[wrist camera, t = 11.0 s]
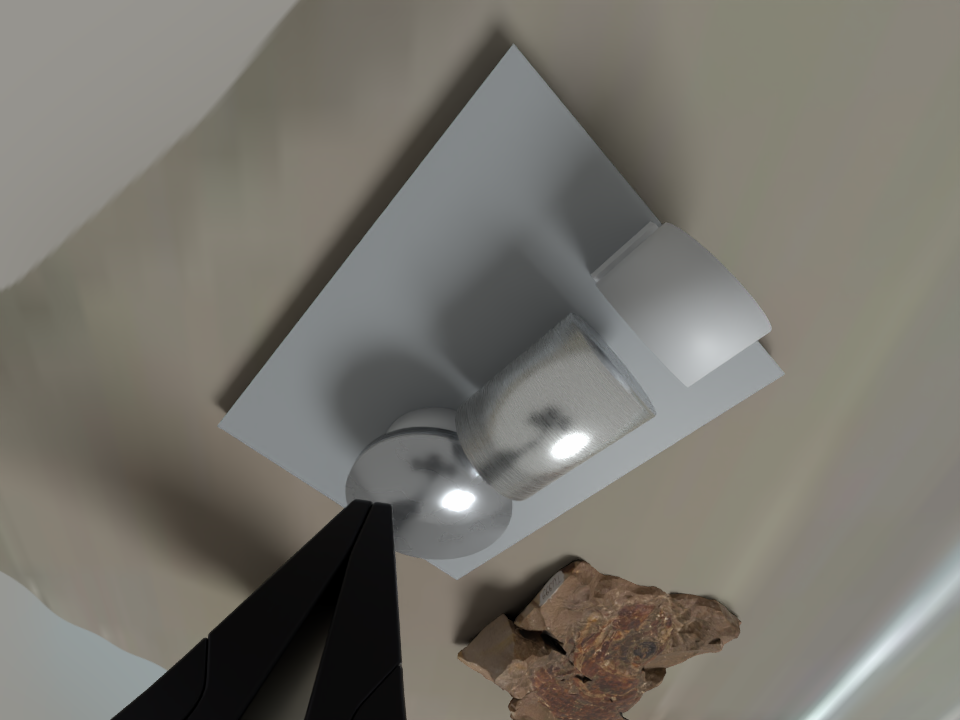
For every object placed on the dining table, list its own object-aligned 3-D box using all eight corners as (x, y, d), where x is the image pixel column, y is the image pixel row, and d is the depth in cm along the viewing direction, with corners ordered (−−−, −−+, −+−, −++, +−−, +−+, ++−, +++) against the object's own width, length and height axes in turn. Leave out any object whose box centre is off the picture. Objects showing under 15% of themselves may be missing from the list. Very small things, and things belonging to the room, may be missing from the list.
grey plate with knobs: (458, 566, 28) (445, 674, 22) (228, 415, 23) (133, 503, 17) (772, 363, 19) (886, 453, 13) (513, 50, 14) (516, -23, 8)
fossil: (610, 527, 26) (631, 599, 21) (762, 624, 29) (804, 701, 25) (440, 648, 33) (431, 718, 29) (578, 712, 37) (587, 782, 33)
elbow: (443, 532, 24) (428, 617, 19) (336, 457, 22) (292, 534, 17) (652, 391, 19) (697, 465, 14) (539, 272, 16) (551, 314, 12)
